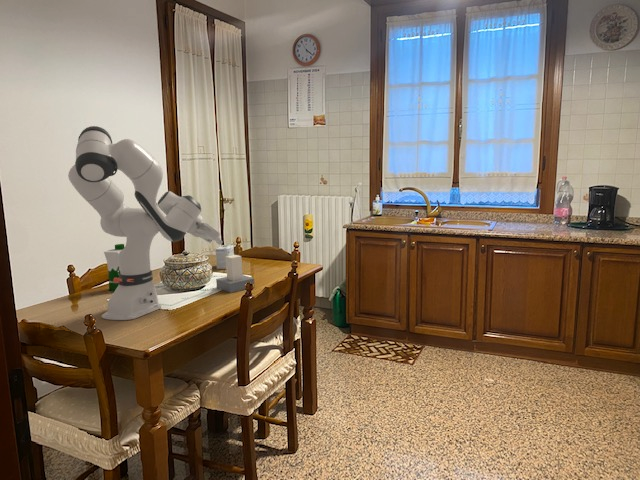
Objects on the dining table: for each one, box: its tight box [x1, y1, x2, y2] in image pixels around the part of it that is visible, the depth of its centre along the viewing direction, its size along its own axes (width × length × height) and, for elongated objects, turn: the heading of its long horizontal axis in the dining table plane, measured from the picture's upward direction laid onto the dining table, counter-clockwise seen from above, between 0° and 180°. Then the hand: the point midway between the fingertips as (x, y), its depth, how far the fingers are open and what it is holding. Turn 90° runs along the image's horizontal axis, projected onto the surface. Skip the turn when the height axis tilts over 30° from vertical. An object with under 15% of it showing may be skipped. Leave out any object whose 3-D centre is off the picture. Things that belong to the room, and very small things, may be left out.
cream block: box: [225, 254, 244, 281], centre depth 219 cm, size 5×5×10 cm
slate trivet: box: [215, 274, 256, 294], centre depth 220 cm, size 12×12×4 cm
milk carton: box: [103, 243, 125, 292], centre depth 224 cm, size 9×9×20 cm
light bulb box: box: [215, 244, 235, 270], centre depth 263 cm, size 11×7×11 cm, turn 172°
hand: (215, 242), depth 212 cm, fingers open, 8 cm apart
